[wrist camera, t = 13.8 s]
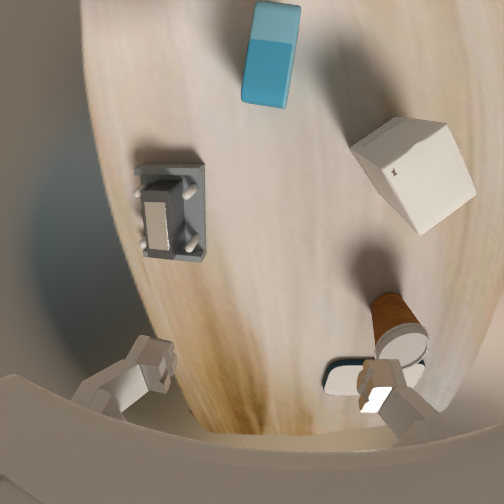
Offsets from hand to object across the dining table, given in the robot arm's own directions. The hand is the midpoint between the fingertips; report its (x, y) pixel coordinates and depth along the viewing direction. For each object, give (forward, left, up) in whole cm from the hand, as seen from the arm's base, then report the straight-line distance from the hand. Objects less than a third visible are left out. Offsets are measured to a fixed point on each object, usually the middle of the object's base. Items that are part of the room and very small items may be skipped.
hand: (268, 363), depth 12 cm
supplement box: (-5, +15, -33) cm, 37 cm away
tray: (+6, -16, -33) cm, 37 cm away
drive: (+6, -16, -32) cm, 36 cm away
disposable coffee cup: (+21, +21, -33) cm, 45 cm away
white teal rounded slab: (+41, +25, -34) cm, 59 cm away
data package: (-16, -2, -33) cm, 37 cm away
